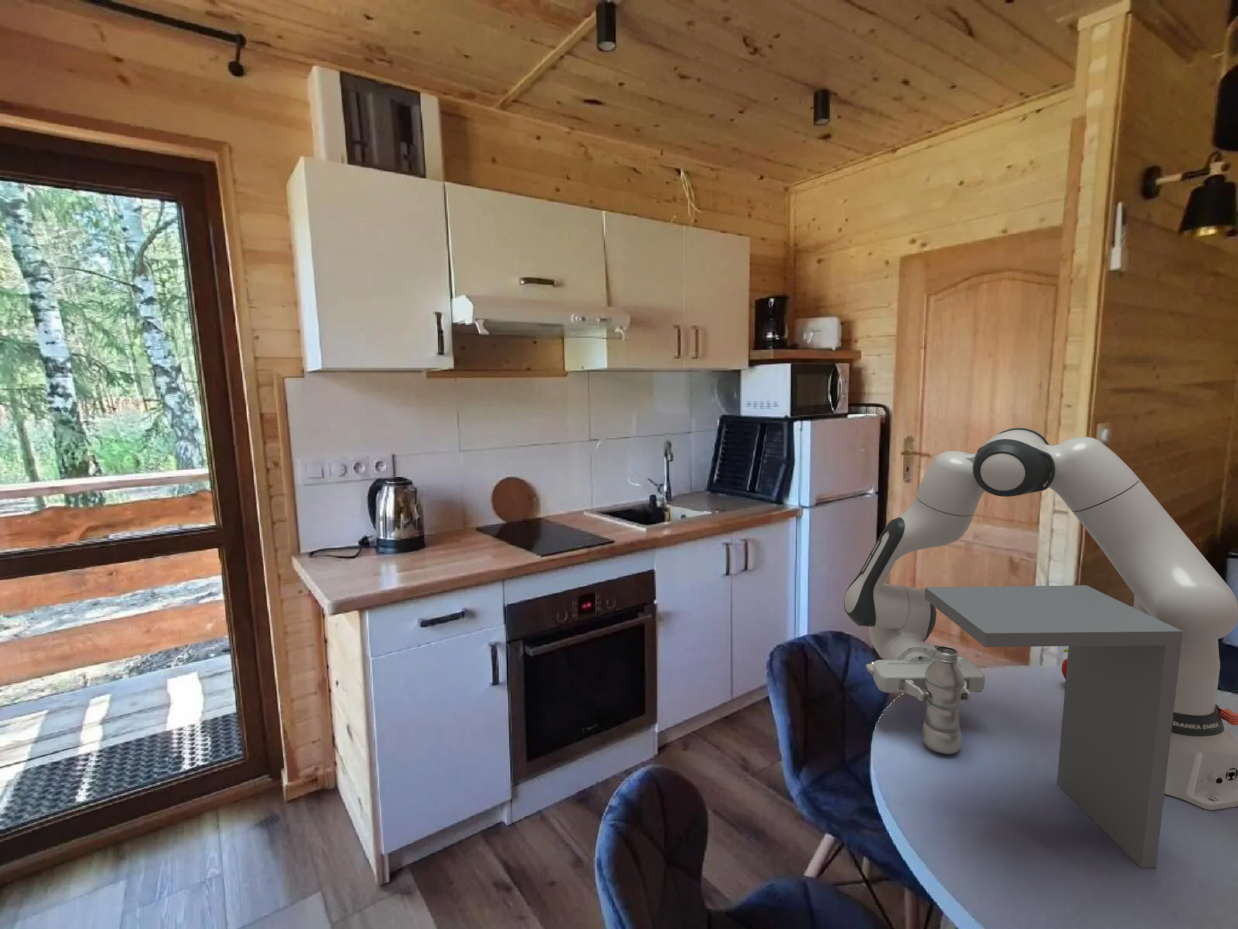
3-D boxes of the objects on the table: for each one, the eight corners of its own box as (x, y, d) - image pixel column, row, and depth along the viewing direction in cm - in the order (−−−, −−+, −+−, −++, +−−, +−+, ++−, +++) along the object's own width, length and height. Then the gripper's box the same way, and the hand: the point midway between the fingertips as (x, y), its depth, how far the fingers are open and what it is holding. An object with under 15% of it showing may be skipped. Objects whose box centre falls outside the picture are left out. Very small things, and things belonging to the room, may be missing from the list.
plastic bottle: (966, 761, 111) (973, 659, 108) (926, 757, 113) (932, 656, 110) (954, 740, 118) (960, 643, 115) (916, 737, 119) (922, 641, 116)
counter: (1068, 784, 104) (1086, 585, 99) (1155, 868, 87) (1182, 631, 81) (915, 783, 106) (925, 587, 100) (970, 866, 88) (985, 633, 83)
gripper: (863, 648, 126) (889, 682, 113) (963, 648, 125) (1002, 681, 112) (862, 677, 127) (888, 713, 114) (961, 676, 126) (999, 713, 113)
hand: (945, 697), depth 113 cm, fingers closed on plastic bottle, 6 cm apart
